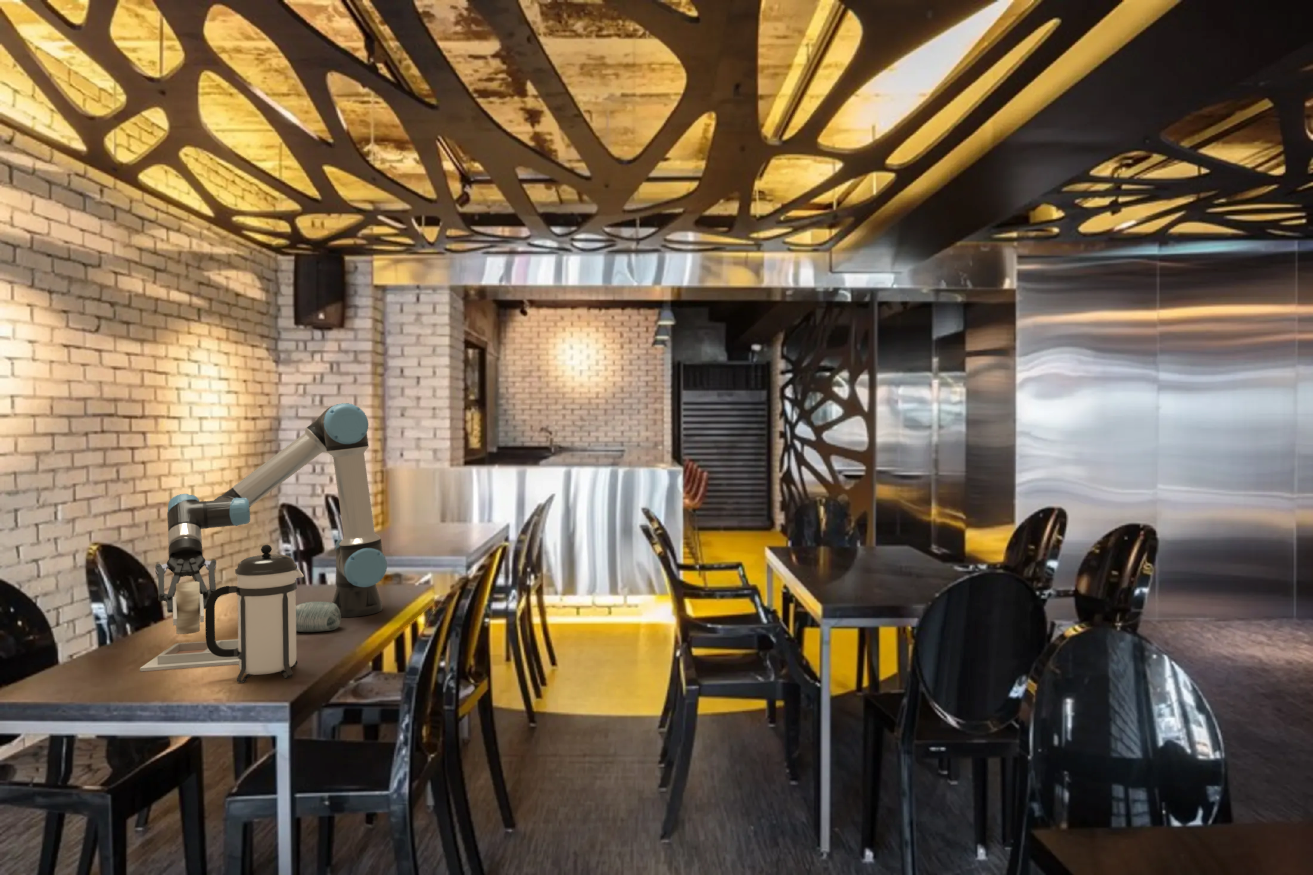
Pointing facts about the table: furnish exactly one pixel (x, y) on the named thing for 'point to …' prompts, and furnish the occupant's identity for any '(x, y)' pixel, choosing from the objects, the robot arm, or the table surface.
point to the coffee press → (261, 615)
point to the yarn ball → (317, 616)
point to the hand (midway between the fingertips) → (188, 620)
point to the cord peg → (188, 607)
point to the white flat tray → (191, 656)
